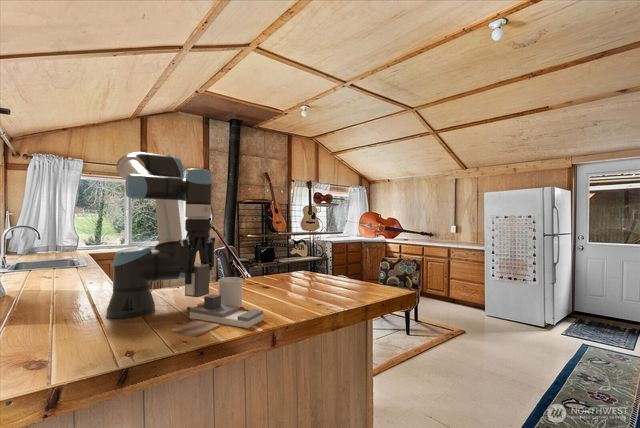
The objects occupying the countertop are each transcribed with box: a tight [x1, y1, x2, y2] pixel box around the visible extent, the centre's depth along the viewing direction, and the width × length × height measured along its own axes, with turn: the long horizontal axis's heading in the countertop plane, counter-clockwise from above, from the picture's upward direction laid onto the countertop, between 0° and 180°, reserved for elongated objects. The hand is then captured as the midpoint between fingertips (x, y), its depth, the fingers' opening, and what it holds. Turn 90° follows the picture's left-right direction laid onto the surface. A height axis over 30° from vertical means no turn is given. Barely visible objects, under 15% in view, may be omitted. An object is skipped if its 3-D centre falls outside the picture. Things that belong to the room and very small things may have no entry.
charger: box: [184, 263, 210, 298], centre depth 102 cm, size 5×5×9 cm
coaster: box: [171, 319, 221, 338], centre depth 102 cm, size 10×10×1 cm
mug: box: [217, 276, 243, 309], centre depth 127 cm, size 12×9×11 cm
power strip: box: [189, 293, 264, 329], centre depth 112 cm, size 24×9×7 cm, turn 67°
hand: (197, 292), depth 102 cm, fingers closed on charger, 5 cm apart
